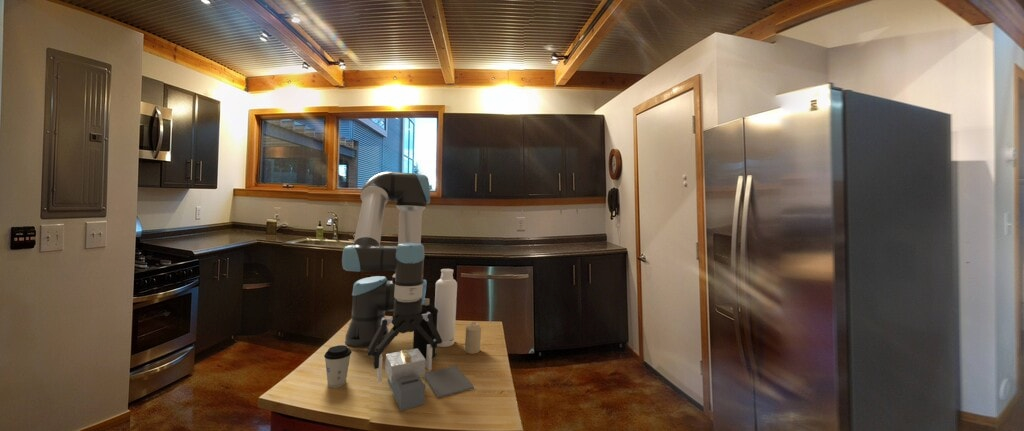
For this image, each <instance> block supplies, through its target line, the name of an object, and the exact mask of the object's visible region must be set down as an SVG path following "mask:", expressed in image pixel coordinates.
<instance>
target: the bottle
mask: <svg viewBox="0 0 1024 431" xmlns="http://www.w3.org/2000/svg"><path fill="white" fill-rule="evenodd" d="M440 272H441V273H440V278H439V279H438V280H436V282H435V290H434V291H435V293H434V294H435V296H434V307H435V308H436V309H437V310H438V313H437V331H438V333H439V335H440V337H441V339H442V343H441V344H437V347H438V348H440V347H441V348H446V347H451V346H453V345H454V344H455V339H456V338H455V335H456V319H457V318H456V317H457V316H456V315H457V298H458V297H457V294H458V282H457V281H456V279H454V276H453V274H454V269H453V268H442V269H440Z"/></svg>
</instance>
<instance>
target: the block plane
mask: <svg viewBox="0 0 1024 431" xmlns="http://www.w3.org/2000/svg"><path fill="white" fill-rule="evenodd" d="M387 381H388V384H389V386H390V389H391V391H392V395H393V396H394V398H395V401H396V404H397V405H398V409H399V411H400V412H402V411H406V410H409V409H413V408H416V407H419V406H423V405H425V395H426V393H425V392H426V391H425V390H426V389H425V388H426V385H425V384H424V382H423V380H422V379H421V377H417V378H412V379H408V380H404V381H399V382H395V383H391V382H390V380H389V377H388V376H387Z"/></svg>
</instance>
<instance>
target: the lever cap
mask: <svg viewBox="0 0 1024 431" xmlns="http://www.w3.org/2000/svg"><path fill="white" fill-rule="evenodd" d="M384 369H385V370H384V371H385V372H386V375H387V378H388V377H389V380H390V382H391V383H395V382H399V381H404V380H408V379H412V378H417V377H420V378H421V377H424V376H425V373H426V359H425V358H424V357H423V355H422V354H421V352H420V351H419V349H418V348H417V349H413V348H411V349H401V350H400V351H395V352H390V353H386V354H385V368H384Z"/></svg>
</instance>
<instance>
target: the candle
mask: <svg viewBox="0 0 1024 431" xmlns="http://www.w3.org/2000/svg"><path fill="white" fill-rule="evenodd" d="M481 335H482V327H481V325H480V324H479V323H477V322H475V321H472V322H470V323H469V324H468V325H466V327H465V339H464V340H465V342H464V352H465V353H467V354H471V355H473V354H474V355H475V354H477V353H480V350H481V337H482V336H481Z"/></svg>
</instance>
